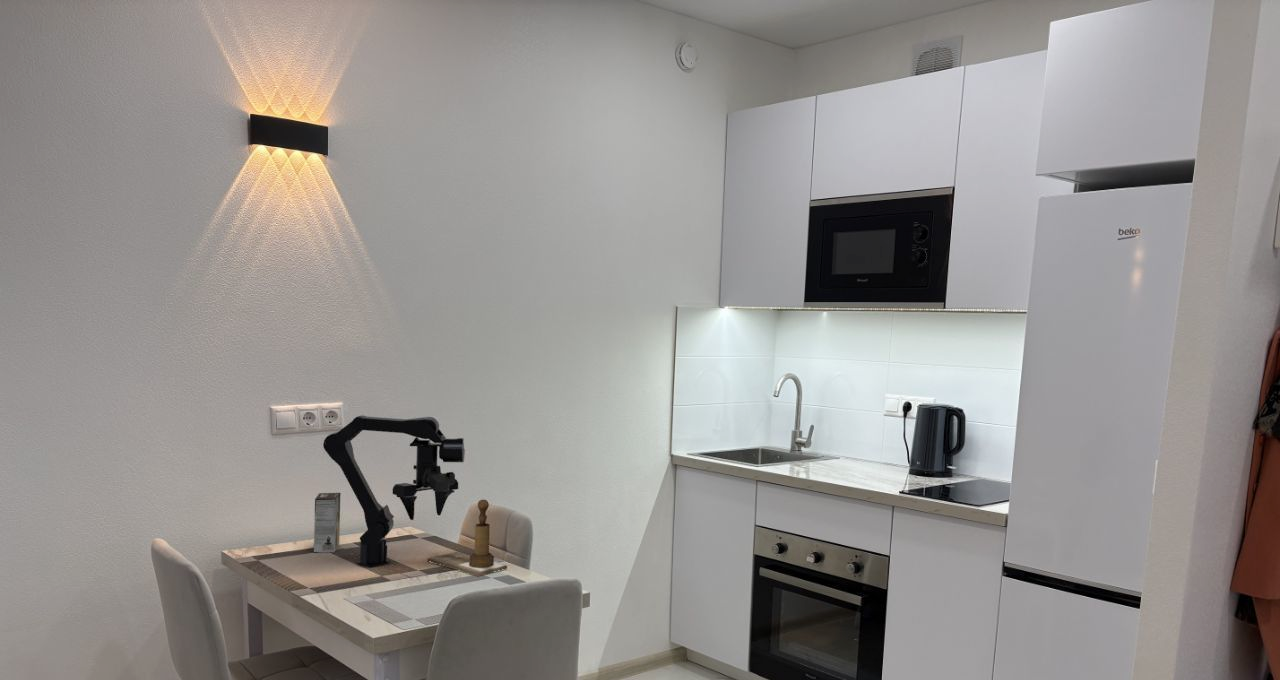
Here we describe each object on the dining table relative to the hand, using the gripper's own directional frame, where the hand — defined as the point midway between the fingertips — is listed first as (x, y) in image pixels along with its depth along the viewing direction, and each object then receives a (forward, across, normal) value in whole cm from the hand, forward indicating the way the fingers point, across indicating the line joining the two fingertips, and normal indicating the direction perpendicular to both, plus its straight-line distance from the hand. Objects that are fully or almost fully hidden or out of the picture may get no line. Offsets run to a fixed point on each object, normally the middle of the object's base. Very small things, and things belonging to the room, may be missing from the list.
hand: (425, 517), depth 241 cm
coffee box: (+13, -10, +34) cm, 38 cm away
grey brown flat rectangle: (+13, +7, -10) cm, 18 cm away
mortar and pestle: (+12, +7, -16) cm, 21 cm away
